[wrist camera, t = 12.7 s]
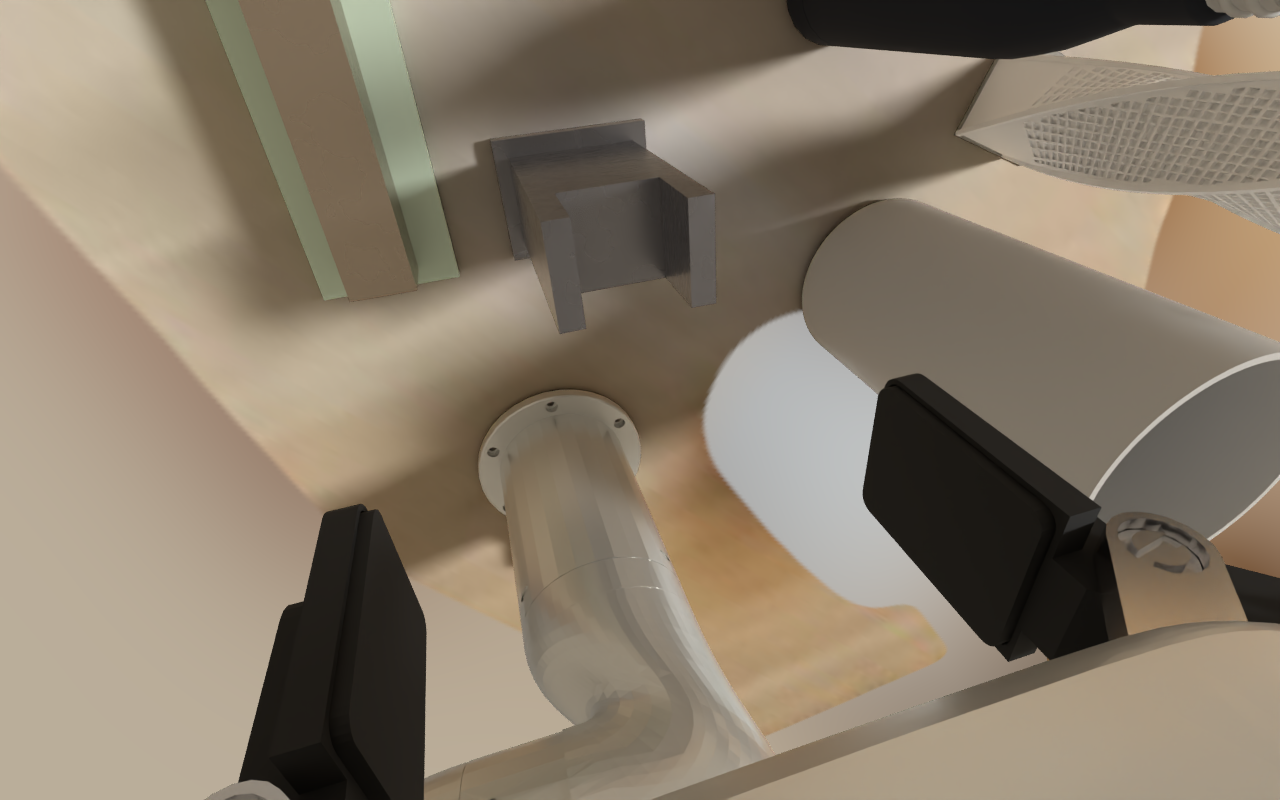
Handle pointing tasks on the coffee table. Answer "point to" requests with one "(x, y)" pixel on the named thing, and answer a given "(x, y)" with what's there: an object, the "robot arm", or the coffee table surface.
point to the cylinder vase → (1056, 360)
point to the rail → (335, 141)
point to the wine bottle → (1000, 22)
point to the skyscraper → (1136, 128)
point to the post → (604, 215)
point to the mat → (394, 122)
